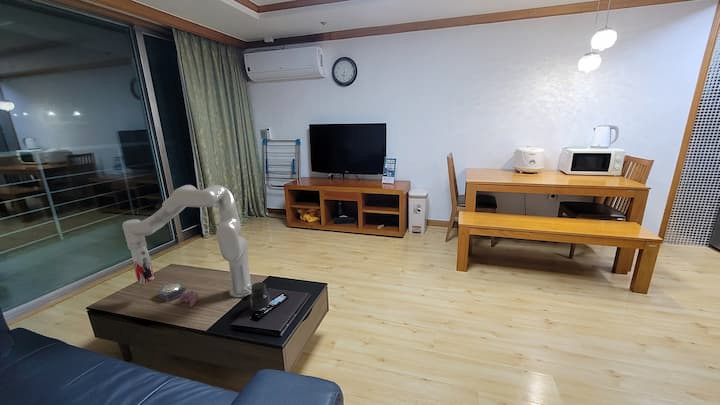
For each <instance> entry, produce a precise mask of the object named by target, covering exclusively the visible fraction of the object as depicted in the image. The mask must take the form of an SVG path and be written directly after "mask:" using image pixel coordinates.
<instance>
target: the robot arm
mask: <svg viewBox="0 0 720 405" xmlns="http://www.w3.org/2000/svg"><path fill="white" fill-rule="evenodd" d="M216 204H217V205H218V215H219V217H220V224H219V225H218V226H217V227H216V232H215V234H216V239H217V243H218V247H219V252H220V254H221V257H222V258H223V259H224V260H225V261H227V262H228V267H229V273H230V281H231V289H230V290H229V295H230V296H231V297H233V298H243V297H246V296H249V295H252V291H251V286H252V285H253V284H252V282H251V274H250V266H249V265H250V264H249V255H248V253H249V252H248V241H247V240H246V238H245V237H243V236H242V235H239V233H240V231H241V230H242V224H241V221H240V217H239V212H238V209H237V204H236V201H235V197H234V195H233V193H232V192H231V191H230V190H229V189H228V188H226V187H225V186H223V185H219V184H214V185H209V186H208V187H205V189H197V188H196V187H195V186H194V185H192V184H185V185H182V186H180V187H178V188H176V189H175V190H173V191H172V193H171V195H170V196H169V197H168V198H167V199H165V200H163V202H162V203H161V205H162V206H161V207H160V208H159V209H158V210H157V211H155V213H153V214H152V215H151V216H149V217H146V218H145V219H142V220H141V219H137V218H136V219H128V220H126V221H124V222H122V224H121V225H122V231H123V233H124V237H125V241H126V244H127V248H128V250H130V254H131V258H132V261H133V264H135V262H136V263H138V265H139V266H140V267H142V269H143V271H144V272H143V274H144V278H145V279H148V278H150V277H152V274H151V269H150V265H149V264H151V265H152V259H151V257H150V254H149V250H148V248H147V246H148V245H147V242H146V241H147V240H146V236H150V235H152V234H154V233H156V232H157V231H158V230H160V229H161V228H163V227H164V226H165V225H166V224H168V223H169V222H170V221H171V220H172V219H174V218H175V217H176V216H177V215H179V214H180V213H181V212H182V211H183V210H184V209H185V208H187V207H189V208H211V207H213V206H214V205H216ZM143 264H145V265H144V266H143ZM145 266H146V267H145ZM144 267H145V268H144Z"/></svg>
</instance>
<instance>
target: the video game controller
mask: <svg viewBox="0 0 720 405" xmlns="http://www.w3.org/2000/svg"><path fill="white" fill-rule="evenodd" d="M177 299H178V300H177V302H176V303H177V305H180V304H182V303H183V302H185V303H189V306H190V307H191V308H192V307H194V306H196V303H197V301H198V299H199V294H198V293H196V292H195V291H193V290H186V291H185V292H183V293H182V295H181V296H180V297H178V298H177Z"/></svg>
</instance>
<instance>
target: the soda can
mask: <svg viewBox="0 0 720 405" xmlns="http://www.w3.org/2000/svg"><path fill="white" fill-rule="evenodd" d="M133 264H134V265H133V268H134V271H135V276H136V280H137V282H138V284H140V285H147V284H150V283H151V282H152V281H153V280H155V276H154V271H153V266H152V263H151V264H149V265H150V269H151V274H152V277H150V278H148V279H145V278H144V274H143V272H144V271H143V269H142V267H140V266H139V265H138V263H136V262H135V263H133ZM144 265H145V264H143V266H144ZM145 267H146V266H145ZM145 267H144V268H145Z"/></svg>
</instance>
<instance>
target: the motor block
mask: <svg viewBox="0 0 720 405" xmlns="http://www.w3.org/2000/svg"><path fill="white" fill-rule="evenodd" d="M185 291H187V288H186V286H185V285H183V284H181V283H179V282H178V281H175V282H172V283H171V284H167V285H166V284H163V285H162V286H161V287H160V288H158V289H157V290H156V292H157V297H158V298H160V299H161V300H163V301H164V302H166V303H169V302H171V301H173V300H175V299H179V298H180V296H181V295H182V293H183V292H185Z"/></svg>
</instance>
